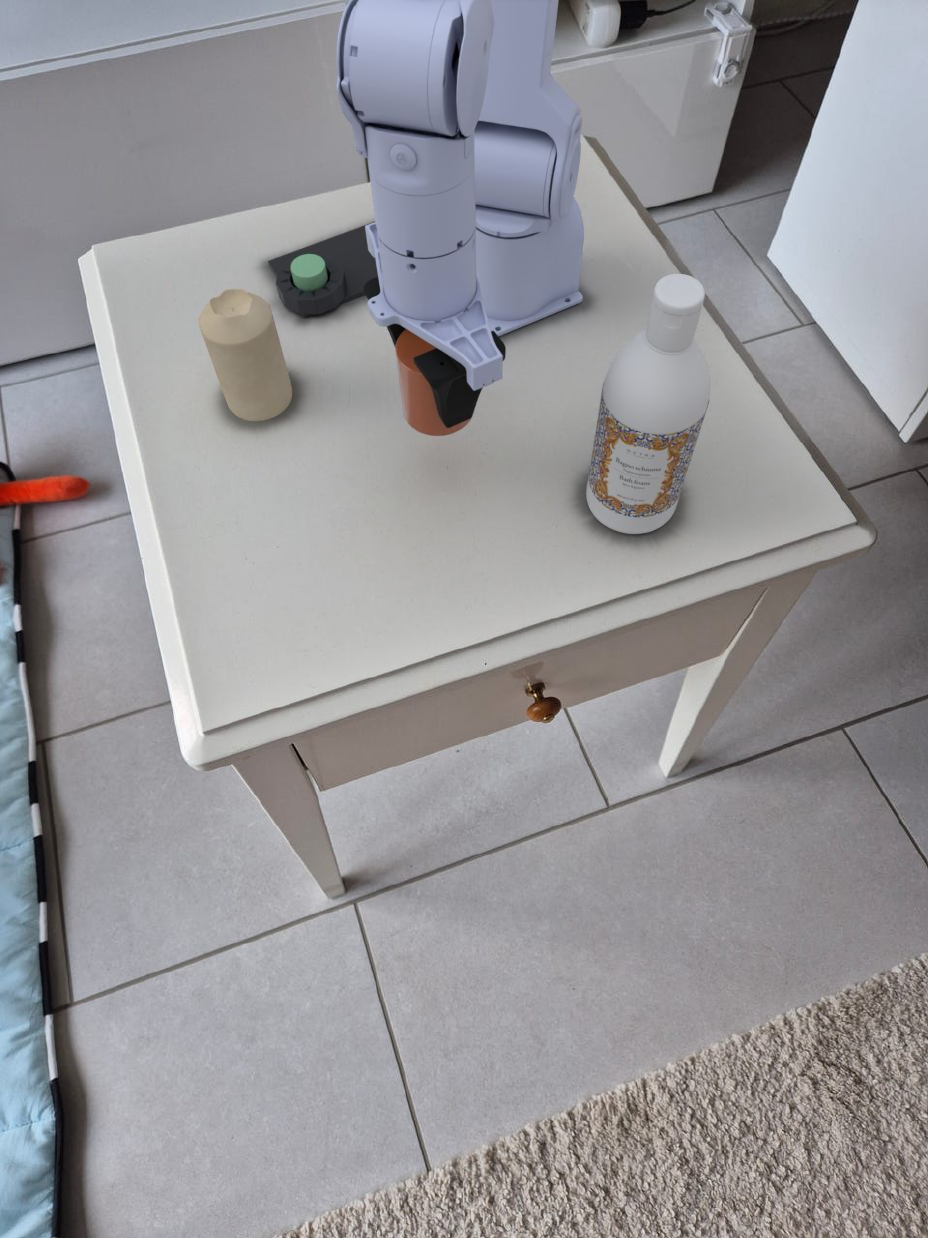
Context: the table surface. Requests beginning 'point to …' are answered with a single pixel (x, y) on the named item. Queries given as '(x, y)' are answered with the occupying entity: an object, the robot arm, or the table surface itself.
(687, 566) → the table surface
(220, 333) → the candle
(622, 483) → the bath foam
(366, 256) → the scale
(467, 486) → the table surface
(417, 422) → the orange cylinder
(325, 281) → the button
